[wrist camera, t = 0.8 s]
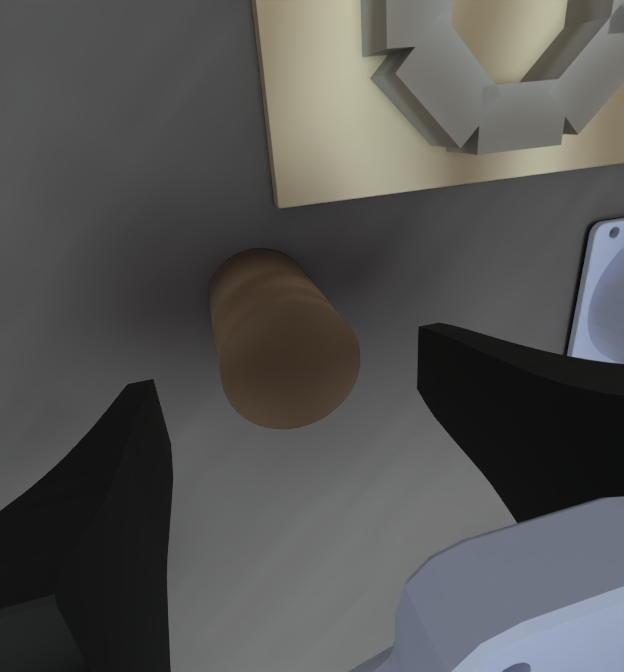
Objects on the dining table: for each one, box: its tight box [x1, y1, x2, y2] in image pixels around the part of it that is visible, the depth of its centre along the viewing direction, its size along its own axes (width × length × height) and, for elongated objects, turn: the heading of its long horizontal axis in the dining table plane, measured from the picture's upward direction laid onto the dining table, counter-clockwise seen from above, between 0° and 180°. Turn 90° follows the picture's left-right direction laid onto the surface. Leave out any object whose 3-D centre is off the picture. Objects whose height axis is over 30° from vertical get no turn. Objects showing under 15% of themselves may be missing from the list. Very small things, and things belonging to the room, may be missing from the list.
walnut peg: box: [208, 248, 360, 429], centre depth 16 cm, size 4×4×6 cm
